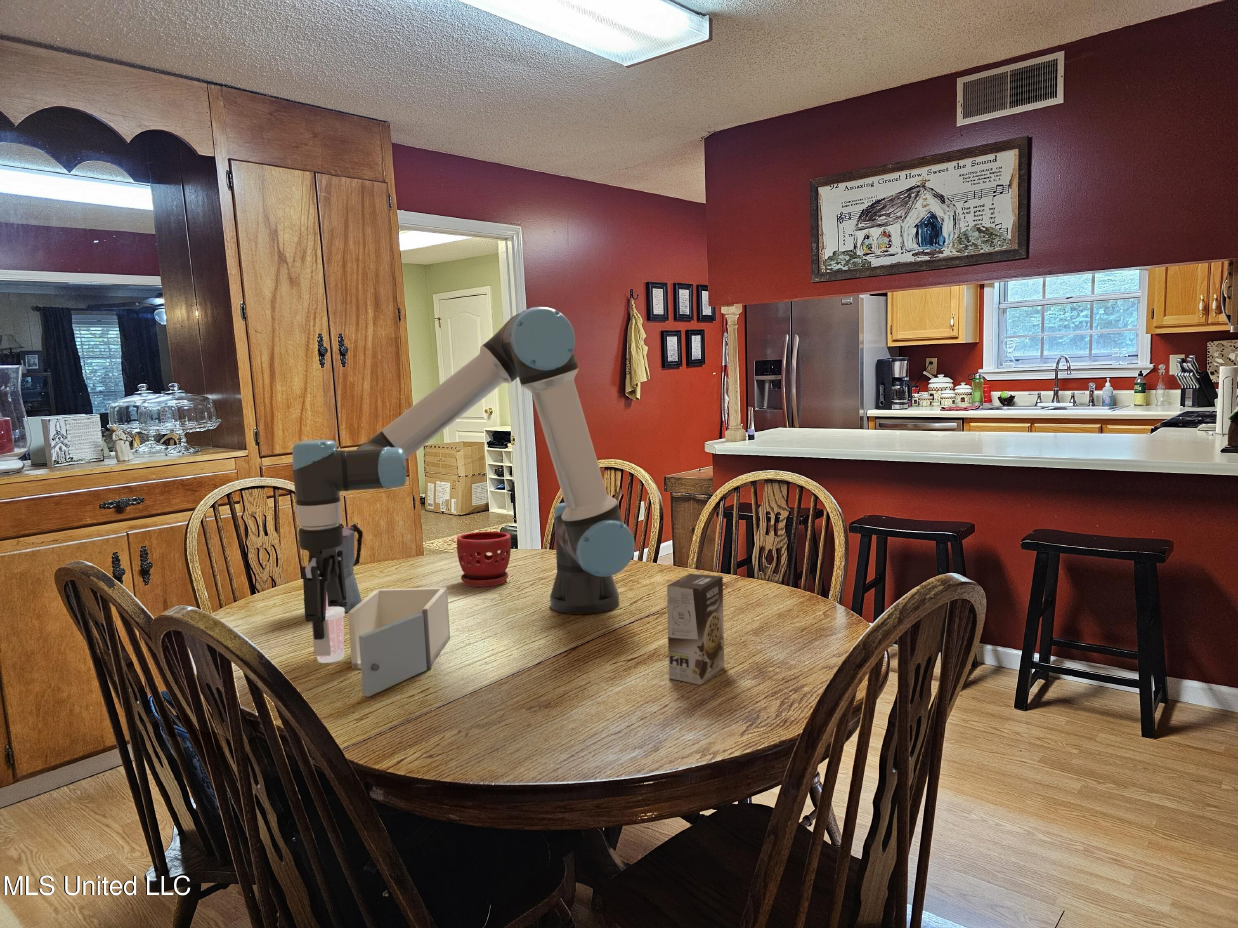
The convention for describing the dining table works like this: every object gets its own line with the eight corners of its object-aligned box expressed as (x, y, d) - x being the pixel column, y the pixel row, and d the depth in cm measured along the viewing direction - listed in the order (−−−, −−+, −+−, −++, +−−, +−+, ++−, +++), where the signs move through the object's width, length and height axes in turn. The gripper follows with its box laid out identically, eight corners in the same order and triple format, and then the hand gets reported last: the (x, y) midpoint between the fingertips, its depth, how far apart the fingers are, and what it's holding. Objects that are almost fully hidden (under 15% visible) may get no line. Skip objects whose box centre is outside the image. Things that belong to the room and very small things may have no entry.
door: (421, 668, 141) (417, 613, 140) (429, 670, 140) (426, 614, 139) (362, 695, 130) (357, 635, 129) (371, 697, 129) (366, 637, 128)
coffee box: (702, 686, 130) (700, 588, 128) (667, 679, 133) (665, 584, 131) (726, 667, 137) (724, 575, 135) (692, 661, 141) (690, 571, 139)
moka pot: (300, 616, 175) (292, 526, 173) (348, 596, 189) (342, 513, 187) (334, 620, 172) (327, 528, 169) (381, 600, 186) (375, 515, 183)
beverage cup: (339, 650, 153) (333, 578, 151) (354, 657, 148) (348, 583, 147) (307, 658, 148) (301, 585, 147) (322, 666, 144) (315, 591, 142)
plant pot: (508, 588, 192) (506, 539, 190) (454, 590, 192) (451, 541, 191) (516, 574, 205) (514, 528, 203) (465, 576, 205) (462, 530, 203)
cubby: (452, 638, 157) (449, 584, 156) (430, 669, 141) (426, 610, 140) (379, 640, 158) (375, 586, 156) (349, 671, 141) (344, 612, 140)
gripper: (320, 516, 155) (330, 631, 158) (275, 537, 136) (287, 668, 139) (359, 515, 155) (367, 631, 157) (319, 536, 136) (330, 667, 139)
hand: (330, 648), depth 148 cm, fingers closed on beverage cup, 6 cm apart
